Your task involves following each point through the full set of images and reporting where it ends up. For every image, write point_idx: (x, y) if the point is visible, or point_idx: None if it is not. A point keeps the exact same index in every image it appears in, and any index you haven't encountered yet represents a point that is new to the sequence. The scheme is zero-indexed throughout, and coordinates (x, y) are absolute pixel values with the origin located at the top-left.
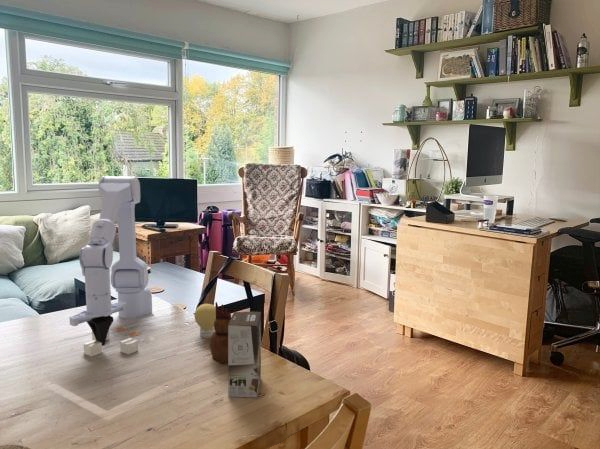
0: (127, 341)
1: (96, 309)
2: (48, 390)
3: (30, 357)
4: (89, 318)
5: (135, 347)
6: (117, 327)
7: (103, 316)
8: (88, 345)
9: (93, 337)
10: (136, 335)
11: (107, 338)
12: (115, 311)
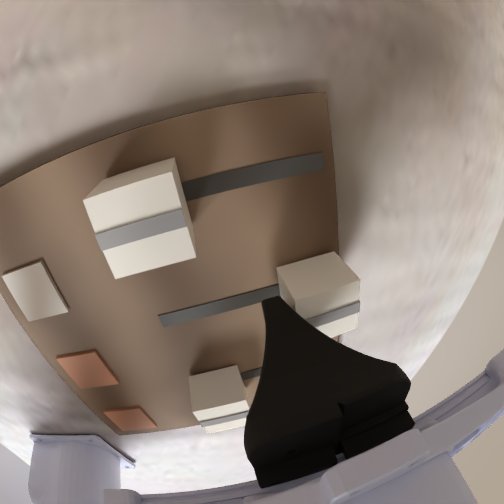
0: (153, 224)
1: (458, 483)
2: (484, 124)
3: (401, 354)
4: (474, 403)
5: (114, 181)
6: (135, 429)
7: (324, 460)
8: (357, 298)
9: (247, 396)
10: (75, 355)
11: (197, 379)
12: (197, 498)
